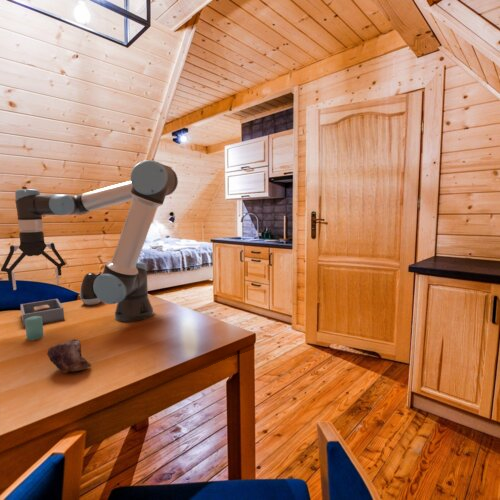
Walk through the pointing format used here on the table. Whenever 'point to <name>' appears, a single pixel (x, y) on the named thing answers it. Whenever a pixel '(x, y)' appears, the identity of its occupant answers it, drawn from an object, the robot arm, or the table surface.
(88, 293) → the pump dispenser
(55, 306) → the tote
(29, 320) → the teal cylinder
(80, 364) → the rock
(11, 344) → the table surface
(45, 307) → the walnut cube
